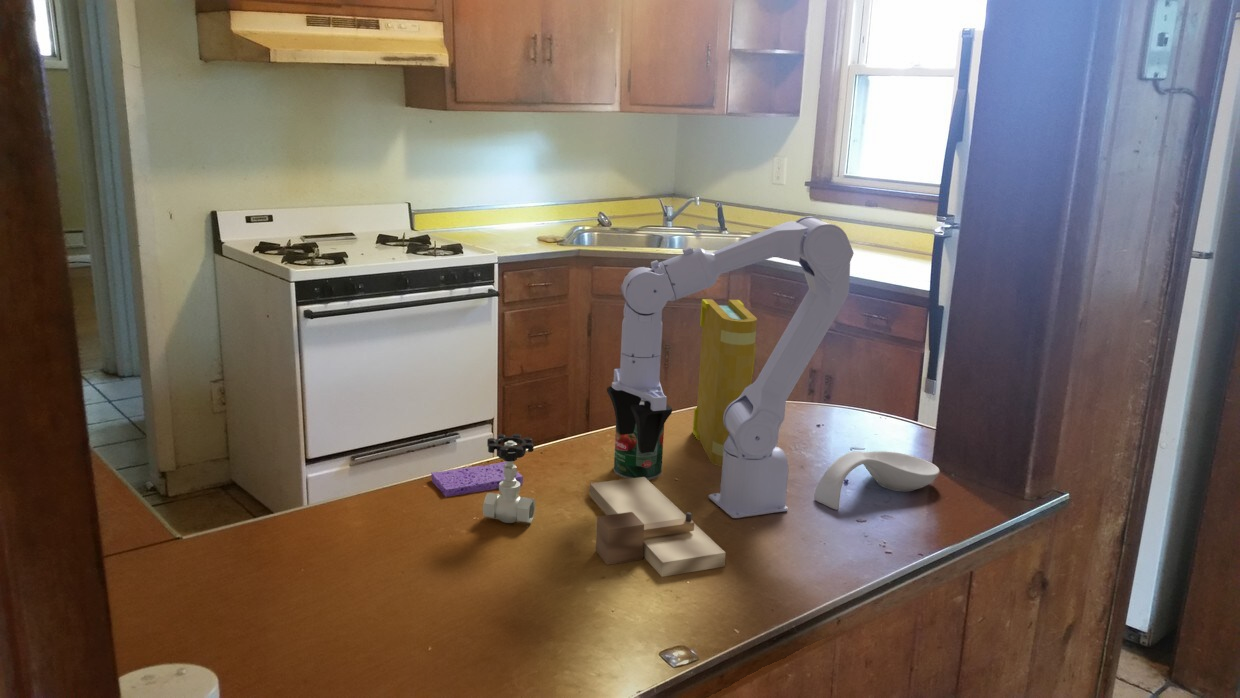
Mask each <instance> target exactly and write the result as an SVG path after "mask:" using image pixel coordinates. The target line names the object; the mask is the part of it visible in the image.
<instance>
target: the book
mask: <svg viewBox="0 0 1240 698" xmlns="http://www.w3.org/2000/svg"><path fill="white" fill-rule="evenodd" d="M727 303H728V304H727V305H719V304H718V303H717V302H716V301H715V300H714V299H713V298H706V299H705V298H702V299H701V306H700V318H699V319H700V321H699V326H700V327H701V328H702V329H701V330H702V332H701V342H700V343H701V346H700V355H699V357H700V359H699V372H698V373H699V374H698V375H699V376H698V386H697V399H696V400H697V402H696V403H697V404H696V407H694V409H693V421H692V434H693V436H694V435H695V436H694V438H695V437H696V438H695V440H696V439H699V440H700V441H699V440H698V441H699V442H700V444H701V445H702V448H703V447H704V448H703V450H704V449H705V450H704V452H705V451H706V452H705V454H706V453H707V454H706V455H707V458H708V459H709V461H710V463H711V462H712V464H713V465H715V466H717V465H718V467H720V466H721V467H720V468H722V464H723V452H724V443H725V442H726V440H727V438H728V436H729V432H728V431H727V429H726V427H725V425H724V422H723V416H724V412H725V410H726V408H727V407H728V405H729V404H730V403H731V402H733V401H734V400H736V399H737V398H738V397H739V396H740V395H741V394H742V392H743V391H744V389H745V388H746V387H747V386H749V385H751V384H752V382H753V374H754V370H755V368H754V367H755V360H756V359H755V358H756V347H757V346H756V337H757V336H756V335H757V325H758V318H757V317H756V316H755V315H754V314H753V313H751V311H749V310H748V308H746V307H745V304H744V303H743V302H742V301H741V300H740V299H728V302H727Z"/></svg>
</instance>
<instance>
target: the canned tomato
mask: <svg viewBox="0 0 1240 698" xmlns="http://www.w3.org/2000/svg"><path fill="white" fill-rule="evenodd" d="M639 405H644V400H643V399H641V401H640V404H639ZM664 434H665V424H664V425H663V427H662V430H661V432H660V435H659V438H658V441H657V444H656V447H655V450H654V452H648V453H641V452H639V448H638V437H637V426H636V424H635V429H634V432H633V434H625V435H620V434H619V431H618V427H617V421H616V420H615V435H614V436H615V437H614V438H615V439H614V457H613V460H614V464H613V472H614V473H615V474H616V475H617V476H618V477H620V478H623V479H630V478H639V477H645V478H646V479H647V480H648V481H649V480H650V481H651V480H654V479H656V478H659V477H660V476H661V475H662V472H663V470H662V467H663V455H664V454H663V453H664V452H663V451H664V437H665V436H664Z"/></svg>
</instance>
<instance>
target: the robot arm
mask: <svg viewBox="0 0 1240 698" xmlns="http://www.w3.org/2000/svg"><path fill="white" fill-rule="evenodd" d="M853 256H854V250H853V248H852V246H851V243H850V241H849V238H848V235H847V233H846V232H845V231H844V230H843V228H841V227H840V226H838V225H836V224H834V223H828V222H826V221H824V220H822V219H821V218H819V217H817V216H810V215H808V216H803V217H800V218H799V219H797V220H790V221H785V222H783V223H779V224H777V225H775V226H772V227H770V228H768V229H765V230H763V231H761V232H758V233H755V234H754V235H751V236H748V237H746V238H743V239H742V240H739V241H735V242H734V243H732V244H729V245H726V246H725V247H722V248H720V249H717V250H715V251H713V252H711V251H709V250H706V249H704V248H702V247H698V248H695V249H693V248H692V246H688V247H685V248H682V254H679V255H677V256H674V257H671V258H667V259H665V260H662V261H660V262H659V261H658V260H657V259H656V260H653V261H651V262H650V266H651V268H650V267H646V266H640V267H639V266H638V267H636V268H633V269H631V270H630V271H629V272H628V273H627V275H625V276H624V279H623V281H622V284H621V285H620V289H621V294H622V297H623V298H624V299H625V302H624V308H623V309H622V310H623V319H622V323H621V341H620V342H621V343H620V363H619V364H620V365H619V368H614V369H613V381H612V382H611V386H608V387H606V391H607V394H608V396H609V398H610V401H611V403H612V406H613V411H614V415H615V422H616V421H617V427H618V431H619V434H620V435H625V434H633V432H634V429H635V424H636V426H637V437H638V448H639V452H641V453H648V452H654V450H655V447H656V444H657V441H658V438H659V435H660V432H661V430H662V427H663V425H664V426H665V424H666V422H667V420H668V419H669V417H670V416H671V414H672V411H673V407H672V406H670V405H668V404H667V402H668V401H667V400H668V396H666V395H665V394H664V391H663V388H662V385H661V382H660V377H661V375H660V374H661V362H662V361H661V360H662V359H661V357H662V356H661V355H662V340H663V321H662V318H663V309H664V308H665V306H666V305H667V303H668V302H674V301H677V300H680V299H682V298H685V297H688V296H690V295H693V294H695V293H699V292H701V291H704V290H706V289H709V288H713V287H715V285H716V282H717V281H718V279H719V277H720V276H721V275H722V274H726V273H729V272H732V271H735V270H738V269H741V268H743V267H747V266H750V265H754V264H757V263H760V262H763V261H766V260H769V259H772V258H778V259H783V260H786V261H787V260H788V261H792V262H797V263H799V265H800V266H801V268H802V272H803V274H804V277H805V281H806V283H807V286H808V287H807V288H808V290H807V292H806V293H805V296H804V297H803V299H802V301H801V302H800V304H799V305H798V308H797V309H796V311H795V312H794V314H793V316H792V318H791V320H790V321H789V322H788V324H787V326H786V328H785V330H784V331H783V333H782V334H781V336H780V338H779V340H778V341H777V343H776V345H775V347H774V348H773V350H772V352H771V354H770V355H769V357H768V358H767V361H766V362H765V363H764V366H763V367H762V369H761V371H760V372H759V374H758V376H757V377H756V380H755V381H754V382H753V383H752V384H751V385H749V386H747V387H746V388H745V389H744V391H743V392H742V394H741V395H740V396H739V397H738V398H737V399H736V400H734V401H733V402H731V403H730V404H729V405H728V407H727V408H726V410H725V412H724V416H723V422H724V425H725V427H726V429H727V431H728V432H729V436H728V438H727V440H726V442H725V443H724V452H723V464H722V467H721V479H720V480H721V481H720V490H719V492H717V493H710V494H709V495H708V499H709V500H711V501H712V502H713V503H714V504H716V505H717V506H718V507H720V509H721V510H722V511H724V512H725V513H726V514H727V515H728V516H730V517H731V518H732V519H741V518H746V517H748V518H749V517H753V516H761V515H767V514H775V513H781V512H787V511H788V509H789V507H788V506H787V505H786V501H787V491H788V490H787V489H788V482H789V470H790V469H789V461H788V457H787V455H786V452H785V451H784V450H783V449H782V448H781V447H779V446H777V444H778V441H779V434H780V433H779V431H780V428H781V426H782V423H784V420H785V416H786V415H785V414H786V405H787V400H788V399H789V397H790V395H791V394H792V391H793V390H794V388H795V386H796V384H797V383H798V381H799V380H800V379H801V376H802V375H803V373H804V371H805V370H806V367H807V366H808V364H809V363H810V362H811V359H812V358H813V356H814V355H815V353H816V351H817V349H818V348H819V345H820V344H821V343H822V341H823V339H824V337H825V336H826V334H827V333H828V330H829V329H830V328H831V326H832V324H833V322H834V321H835V320H836V317H837V316H838V314H839V312H840V310H841V309H842V308H843V306H844V304H845V302H846V301H847V299H848V296H849V294H850V280H851V279H850V277H851V276H850V275H851V261H852V258H853ZM641 399H642V400H644V405H639V404H640V401H641Z"/></svg>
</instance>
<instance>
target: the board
mask: <svg viewBox="0 0 1240 698" xmlns="http://www.w3.org/2000/svg"><path fill="white" fill-rule="evenodd" d="M589 497H590V498H591V499H592V500H593V501H594V503H596V505H597V506H598V507H599V508H600V509H601V511H602V512H603V513H604V515H612V514H620V513H627V512H633V513H634V514H635V515H636V516H637V517H638V518H639V519H640V521H641V522H642V523H643V524H647V523H654V522H662V521H669V520H676V519H683V518H686V513H684V512H683V511H682V510H680V508H679V507H678V506H676V505H675V504H674V503H673V502H672V501H671V500H670V499H669V498H668V497H666V495H665V494H663V493H662V491H660V490H659V489H658V488H657V487H656V486H655V485H654V484H652V482H650V481H649V480H647V479H646V478H645V477H639V478H630V479H626V478H623V479H617V480H609V481H598V482H592V483H589ZM642 557H644V559H645V560H646V561H647V562H648V563H649V565H650V566H651V567H652V568H653V569H654V570H655V571H656V572H657V573H658V575H659V576H660V577H661V578H663V577H664V578H665V577H670V576H675V575H676V576H677V575H680V574H688V573H693V572H700V571H705V570H711V569H719V568H723V567H725V564H726V561H725V560H726V551H725V550H723V549H722V547H720V546H719V544H718V543H716V542H715V541H714V540H713V539H712V538H711V537H710V536H709V535H707V534H706V533H705V532H704V530H702V529H701V528H700V527H699V526H698V525H697V524H696V523H694V531H689V532H682V533H675V534H668V535H661V536H655V537H648V538H643V556H642Z"/></svg>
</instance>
